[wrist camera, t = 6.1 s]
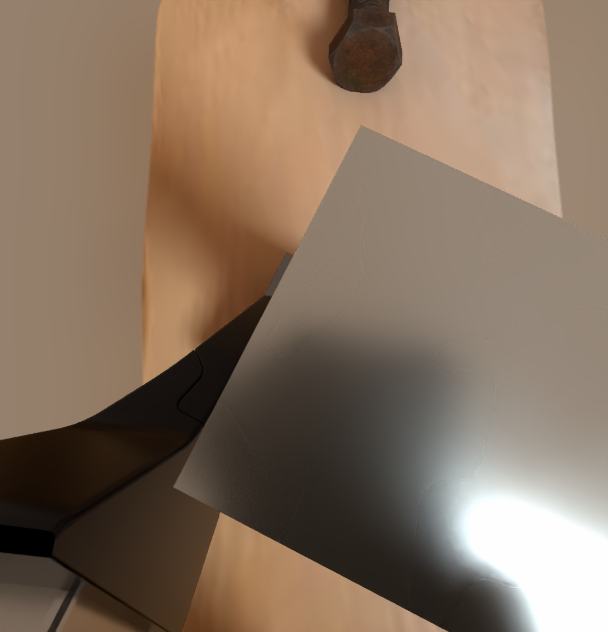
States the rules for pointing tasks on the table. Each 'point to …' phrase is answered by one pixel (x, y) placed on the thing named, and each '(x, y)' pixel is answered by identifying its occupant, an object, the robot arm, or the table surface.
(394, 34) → the bolt
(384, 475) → the steel peg
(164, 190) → the table surface
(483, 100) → the table surface
